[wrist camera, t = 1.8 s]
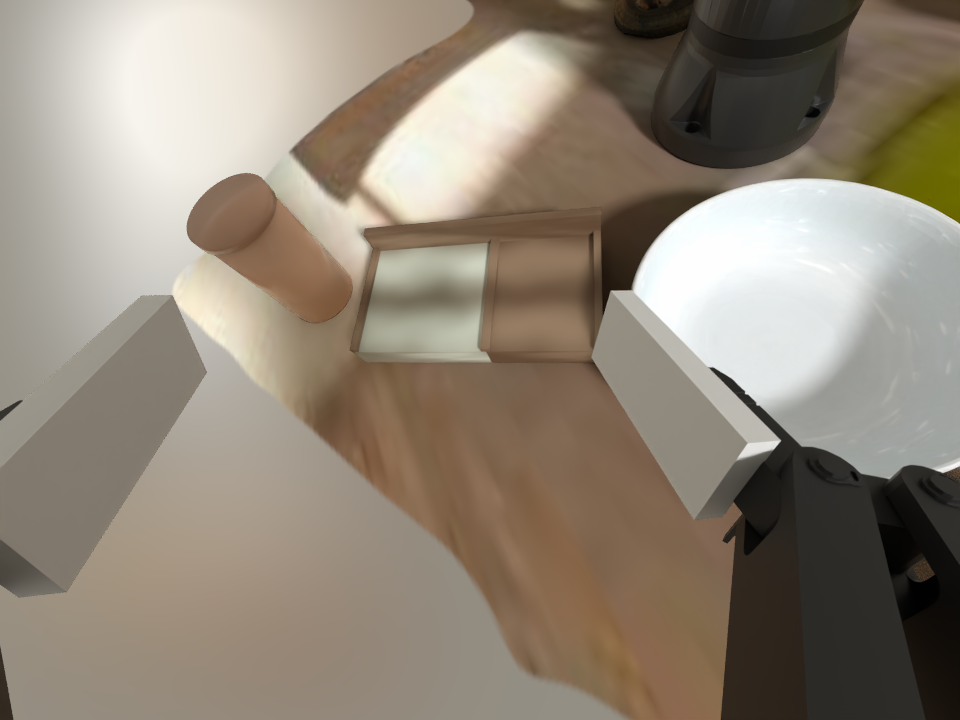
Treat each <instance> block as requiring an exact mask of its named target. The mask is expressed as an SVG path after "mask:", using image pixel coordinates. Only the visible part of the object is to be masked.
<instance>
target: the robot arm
mask: <svg viewBox="0 0 960 720" xmlns="http://www.w3.org/2000/svg"><path fill="white" fill-rule="evenodd" d="M863 1H864V0H694V3H693V7H692V12H691V16H690V20H689V25H688V27H687V29H686V31H685V33H684V35H683V37H682V39H681V41H680V43H679V45H678V47H677V48H676V50H675V52H674V54H673V56H672V58H671V60H670V62H669V64H668V66H667V68H666V70H665V72H664V74H663V76H662V78H661V80H660V81H659V84H658V86H657V89H656V92H655V97H654V102H653V108H652V113H651V124H652V129H653V131H654V134H655V136H656V138H657V139H658V141H659V142H660V143H661V144H662V145H663V146H664V147H665V148H666V149H667V150H668V151H670V152H671V153H673V154H674V155H676V156H678V157H680V158H682V159H684V160H686V161H689V162H692V163H695V164H699V165H703V166H709V167H716V168H742V167H751V166H756V165H761V164H765V163H768V162H771V161H774V160H777V159H780V158H782V157H784V156H786V155H788V154H790V153H792V152H794V151H795V150H797V149H798V148H800V147H801V146H802V145H804V144H805V143H806V142H807V141H808V140H809V139H810V138H811V137H812V136H813V135H814V134H815V132H816V131H817V129H818V128H819V126H820V124H821V123H822V121H823V119H824V118H825V116H826V114H827V113H828V111H829V109H830V107H831V105H832V103H833V100H834V98H835V95H836V90H837V85H838V80H839V76H840V71H841V66H842V61H843V56H844V51H845V46H846V41H847V36H848V31H849V28H850V26H851V24H852V22H853V20H854V18H855V16H856V14H857V12H858V11H859V9H860V7H861V5H862V3H863ZM591 358H592V359H593V361H594V362H595V364H596V366H597V367H598V369H599V370H600V372H601V374H602V375H603V377H604V378H605V380H606V381H607V383H608V385H609V386H610V388H611V389H612V391H613V393H614V394H615V396H616V397H617V399H618V401H619V402H620V404H621V405H622V407H623V408H624V410H625V412H626V413H627V415H628V416H629V418H630V420H631V421H632V423H633V424H634V426H635V427H636V429H637V431H638V432H639V434H640V435H641V437H642V439H643V440H644V442H645V443H646V445H647V447H648V448H649V450H650V451H651V453H652V454H653V456H654V458H655V459H656V461H657V462H658V464H659V466H660V467H661V469H662V470H663V472H664V473H665V475H666V477H667V478H668V480H669V481H670V483H671V485H672V486H673V488H674V489H675V491H676V493H677V494H678V496H679V497H680V499H681V500H682V502H683V504H684V505H685V507H686V508H687V510H688V512H689V513H690V515H691V516H692V518H693V520H700V519H709V518H717V517H722V516H723V515H724V514H725V513H726V511H727V510H728V509H729V507H730V506H731V505H732V503H733V502H734V503H735V504H736V505H737V507H738V508H739V509H740V511H741V512H742V513H743V514H742V515H741V516H740V517H739V519H738V520H737V521H736V522H735V523H734V525H733V526H732V527H731V528H730V530H729V531H728V532H727V533H726V534H725V537H724V539H723V541H724V542H726V543H728V542H729V541H730V540H731V539H732V538H733V536H736V538H735V550H734V563H733V575H732V587H731V600H730V612H729V625H728V637H727V649H726V662H725V674H724V686H723V699H722V711H721V720H960V482H959V481H957V480H956V479H954V478H952V477H950V476H947V475H946V474H944V473H942V472H940V471H936V470H933V469H930V468H927V467H924V466H918V465H908V466H904V467H902V468H901V469H900V470H899V471H898V472H897V473H895V474H894V475H893V476H892V477H891V478H890V479H887V478H882V477H876V476H871V475H866V474H861V473H860V472H859V471H858V470H857V469H856V468H855V467H854V466H852V465H851V464H850V463H848V462H847V461H845V460H844V459H842V458H841V457H839V456H837V455H835V454H833V453H831V452H829V451H826V450H823V449H819V448H816V447H802V446H801V445H800V444H799V443H798V442H797V441H796V440H795V439H794V438H793V437H792V436H791V435H789V434H788V433H787V432H786V431H785V430H784V429H783V428H782V427H781V426H780V425H779V424H778V423H777V422H776V421H775V420H774V419H773V418H772V417H771V416H770V415H769V414H768V413H767V412H766V411H765V410H764V409H763V408H762V407H761V406H760V405H756V402H755V401H754V400H753V399H752V398H751V397H750V396H749V395H748V394H745V391H744V390H743V389H742V388H741V387H740V386H739V385H738V384H737V383H736V382H735V381H734V380H733V379H732V378H730V377H728V376H727V375H725V374H724V373H722V372H720V371H719V370H717V369H715V368H714V367H707V366H706V365H705V364H704V363H703V362H702V360H701V359H700V358H699V357H698V356H697V355H696V354H695V353H694V352H693V351H692V350H691V349H690V348H689V347H688V346H687V345H686V344H685V343H684V342H683V341H682V340H681V339H680V338H679V337H678V336H677V335H676V334H675V333H674V332H673V331H672V330H671V329H670V328H669V327H668V326H667V325H666V324H665V323H664V322H663V321H662V320H661V319H660V318H659V317H658V316H657V315H656V314H655V313H654V312H653V311H652V310H651V309H650V308H649V307H648V306H647V305H646V304H645V303H644V302H643V301H642V300H641V299H640V298H639V297H638V296H637V295H636V294H635V293H634V292H633V291H632V290H628V291H610V295H609V298H608V302H607V305H606V309H605V312H604V315H603V319H602V322H601V326H600V329H599V333H598V336H597V339H596V343H595V346H594V350H593V353H592V357H591ZM206 373H207V371H206V369H205V367H204V365H203V362H202V360H201V358H200V356H199V353H198V352H197V349H196V347H195V344H194V342H193V340H192V338H191V336H190V333H189V331H188V329H187V327H186V324H185V322H184V320H183V318H182V315H181V313H180V311H179V309H178V306H177V304H176V302H175V300H174V297H173V295H154V296H141V297H140V298H138V299H137V300H136V301H135V302H134V303H133V304H132V305H131V306H129V307H128V308H127V309H126V310H125V311H124V312H123V313H122V314H121V315H119V316H118V317H117V318H116V319H115V320H114V321H113V322H112V323H110V324H109V325H108V326H107V327H106V328H105V329H104V330H103V331H101V332H100V333H99V334H98V335H97V336H96V337H95V338H93V339H92V340H91V341H90V342H89V343H88V344H87V345H86V346H84V347H83V348H82V349H81V350H80V351H79V352H78V353H76V354H75V355H74V356H73V357H72V358H71V359H70V360H69V361H67V362H66V363H65V364H64V365H63V366H62V367H61V368H60V369H59V370H57V371H56V372H55V373H54V374H53V375H52V376H51V377H49V378H48V379H47V380H46V381H45V382H44V383H43V384H42V385H40V386H39V387H38V388H37V389H36V390H35V391H34V392H33V393H31V394H30V395H29V396H28V397H27V398H26V399H25V400H21V401H18V402H16V403H14V404H12V405H11V406H9V407H7V408H5V409H4V410H2V411H0V585H2V586H3V587H5V588H6V589H7V590H9V591H10V592H12V593H13V594H15V595H16V596H17V597H28V596H36V595H45V594H54V593H63V592H67V591H68V589H69V588H70V586H71V585H72V583H73V581H74V580H75V578H76V576H77V575H78V574H79V572H80V570H81V569H82V567H83V566H84V564H85V563H86V561H87V559H88V558H89V556H90V555H91V553H92V552H93V550H94V549H95V547H96V545H97V544H98V542H99V541H100V539H101V538H102V536H103V534H104V533H105V531H106V530H107V528H108V527H109V525H110V523H111V522H112V520H113V519H114V517H115V516H116V514H117V513H118V511H119V509H120V508H121V506H122V505H123V503H124V502H125V500H126V498H127V496H128V495H129V494H130V492H131V491H132V489H133V487H134V486H135V484H136V482H137V481H138V480H139V478H140V476H141V475H142V473H143V472H144V470H145V469H146V467H147V466H148V464H149V462H150V461H151V459H152V458H153V456H154V455H155V453H156V451H157V450H158V448H159V447H160V445H161V444H162V442H163V440H164V439H165V437H166V436H167V434H168V432H169V431H170V429H171V428H172V426H173V425H174V423H175V422H176V420H177V419H178V417H179V415H180V414H181V412H182V411H183V409H184V407H185V406H186V404H187V403H188V401H189V400H190V398H191V397H192V395H193V393H194V392H195V390H196V389H197V387H198V386H199V384H200V382H201V381H202V379H203V378H204V376H205V375H206ZM924 560H927V562H928V563H929V565H930V567H931V568H932V570H933V572H934V573H935V575H934V576H932V577H931V578H929V579H927V580H926V581H923V582H921V581H920V579H919V578H918V577H917V576H916V574H915V572H914V570H913V569H912V568H914V567H915V566H917V565H918V564H920V563H921V562H923V561H924ZM0 720H13V715H12V710H11V704H10V699H9V693H8V687H7V681H6V676H5V670H4V665H3V660H2V654H1V649H0Z"/></svg>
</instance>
